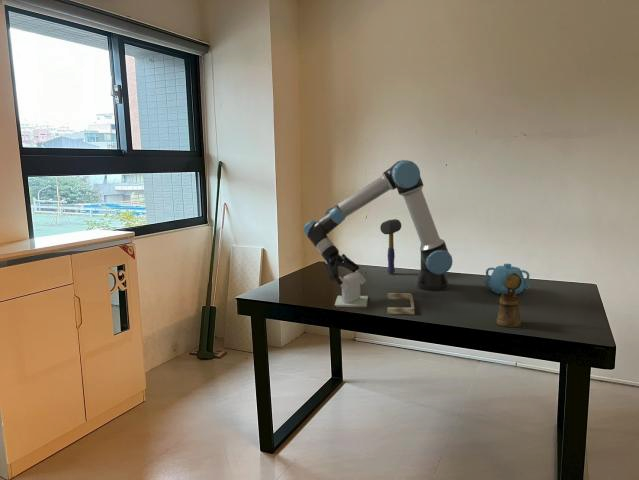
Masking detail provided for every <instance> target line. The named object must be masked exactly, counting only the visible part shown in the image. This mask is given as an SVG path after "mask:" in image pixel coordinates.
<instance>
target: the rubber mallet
mask: <svg viewBox="0 0 639 480" xmlns="http://www.w3.org/2000/svg"><path fill="white" fill-rule="evenodd" d="M379 228H380V232H381V233H382V234H384V235H388V248H387V261H388V262H387V265H388V266H387V274H388V275H394V274H395V272H396V270H395V258H396V257H395V256H396V254H395V248H394V247H395V246H394V234H395V233H397V232H399V231H400V230H401V228H402V223H401V221H400V220H399V219H395V218H394V219H389V220H386V221H383V222H381V224H380V226H379Z"/></svg>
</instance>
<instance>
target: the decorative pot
mask: <svg viewBox="0 0 639 480" xmlns="http://www.w3.org/2000/svg"><path fill="white" fill-rule="evenodd" d="M489 271H492V273H491V275H490V274H489ZM513 273H516V274H517V275H519V276H520V278H521V285H520V287H519V288H517V289H515V294H514V295H519V294H521V293H522V292H523V291H524V290H529V289H530V288H531V286H530V284H529V283H528V281H529V280H530V273H529V272H528V271H527V270H525V269H521V268H520V267H517V266H512V264H511V263H503V265H497V266H496V267H493V266H492V267H488V268H487V269H486V270H485V276H486V278H487V279H485V280H484V284H485V285H486V286H488V287H489V288H490V290H491V291H492V292H493V293H495V295H502V294H507V293H508V288H507V287H506V286H505V279H506V277H507V276H509V275H511V274H513ZM523 273H524V274H526V279H525V276H524V274H523Z"/></svg>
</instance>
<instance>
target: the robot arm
mask: <svg viewBox="0 0 639 480" xmlns="http://www.w3.org/2000/svg"><path fill="white" fill-rule="evenodd" d="M420 170H421V169H420V167H419V166H418V165H417V164H416V163H415V162H413V161H411V160H408V159H406V160H405V159H401V160H399V161H396V162H395V163H394V164H393V165H392V166H390V167H389V168H388V169H387V170H385V171H384V172H382V174H381V176H380V177H379V178H377V179H375V180H374V181H372V182H370V183H368V184H367V185H366V186H364V187H361V189H359V190H358V191H356V192H355V193H353V194H352V195H351V194H350V196H348V197H346V198H345V199H343V200H342V201H340V202H339V203H337V204H335V205H334V206H333V207H330V208H328V209H327V210H326V211H325V213H324V216H322V217H321V218H320V219H318V221H316V220H313V219H312V220H310V221H309V222H307V223H306V224H305V225H304V226H303V228H302V229H303V233H304V234H305V236H306V237H307V238H308V240H309V241H310V242H311V244H313V246H314V247H315V248H316V249H317V251H318V252H319V254H321V256H322V258H323V259H324V262H323V264H324V265H325V267H326V270H327V274H328V276H329V279H330V280H331V281H332V282H335V281H336V283H337V284H338V286H340V288H341V290H342V289H343V290H344V292H345V291H346V290H347V289H348V288H349V287H348V286H347V284H346V283H345V282H344V280H343V277H342V276H339V268H338V267H342V268H343V267H344V268H345V269H346V270H349V271H351V273H357V274H359V276H360V285H364V283H366V281H367V280H366V279H365V278H364V276H363V275H362V273H361V272H360V271H359V269H360V266H359V265H358V264H356V263H355V262H354V261H353V260H351V259H350V258H349V257H348V256H346V254H345V253H343V254H341V255H340V254H339V253H340V251H339V249H338V248H337V247H336V245H334V242H332V240H331V239H330V237H329V236H328V234H330V232H332V231H333V230H334V229H335V228H337V227H338V226H340V225H341V224H342V222H344V221H345V219H346V218H347V217H348V216H350V215H352V214H353V213H355V212H357V211H358V210H360V209H361V208H363V207H364V206H366V205H368V204H370V203H371V202H373V201H374V200H376V199H377V198H379V197H381V196H382V195H384V194H385V193H387V192H388V191H391V190H392V191H394V190H395V189H396V190H397V192H398V195H399V196H402V197H403V200H404V201H405V204H406V206H407V209H408V212H409V215H410V217H411V220H412V222H413V225H414V228H415V231H416V234H417V235H418V238H419V241H420V248H419V251H420V270H419V271H420V272H419V275H418V276H417V277H418V278H417V280H416V287H417V288H419V289H421V290H426V291H442V290H447V289H448V288H449V279H448V277H447V274H446V273H448V271H450V269H451V268H452V265H453V257H452V254H451V253H450V252H449V249H448V248H447V247H448V246H447V245H446V241H445V240H444V239H442V238H440V236H439V232H438V230H437V227H436V224H435V221H434V219H433V217H432V214H431V210H430V208H429V206H428V203H427V200H426V198H425V195H424V192H423V187H424V183H423V179H422V176H421V171H420Z"/></svg>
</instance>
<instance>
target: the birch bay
mask: <svg viewBox="0 0 639 480" xmlns="http://www.w3.org/2000/svg"><path fill="white" fill-rule="evenodd" d="M386 295H387V297H386V299H387V300H409V304H410V307H386V308H387V311H386V312H387V315H415V303H414V298H413V293H409V292H408V293H405V292H402V293H401V292H399V293H398V292H397V293H395V292H391V293H390V292H388V293H387V294H386Z"/></svg>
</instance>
